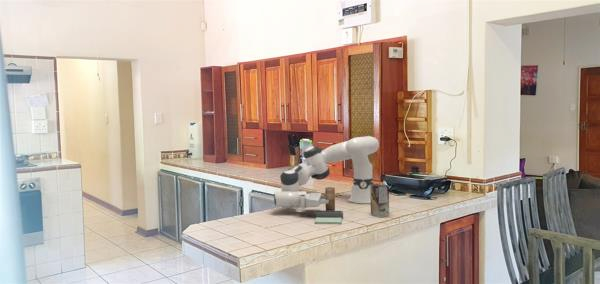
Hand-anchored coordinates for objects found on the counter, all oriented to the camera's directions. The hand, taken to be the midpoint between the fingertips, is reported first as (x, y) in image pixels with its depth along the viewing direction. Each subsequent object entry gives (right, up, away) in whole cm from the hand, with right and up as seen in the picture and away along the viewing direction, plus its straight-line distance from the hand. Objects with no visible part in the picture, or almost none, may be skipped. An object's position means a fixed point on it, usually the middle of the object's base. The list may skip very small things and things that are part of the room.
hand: (329, 199), depth 246 cm
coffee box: (+26, -8, -4) cm, 28 cm away
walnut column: (+1, -8, +1) cm, 8 cm away
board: (-1, -9, -16) cm, 19 cm away
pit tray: (0, -8, -7) cm, 11 cm away
